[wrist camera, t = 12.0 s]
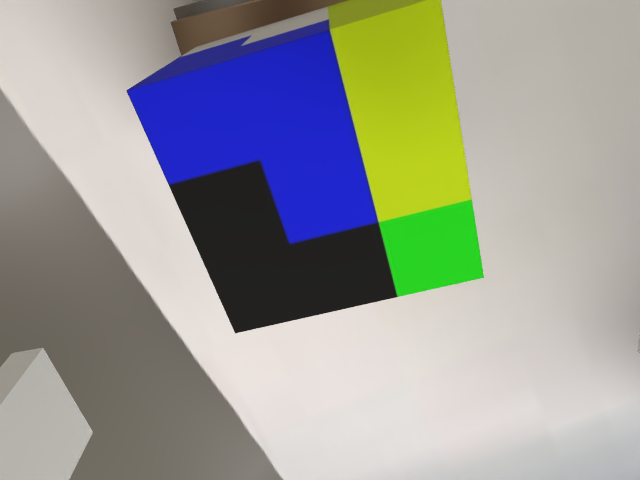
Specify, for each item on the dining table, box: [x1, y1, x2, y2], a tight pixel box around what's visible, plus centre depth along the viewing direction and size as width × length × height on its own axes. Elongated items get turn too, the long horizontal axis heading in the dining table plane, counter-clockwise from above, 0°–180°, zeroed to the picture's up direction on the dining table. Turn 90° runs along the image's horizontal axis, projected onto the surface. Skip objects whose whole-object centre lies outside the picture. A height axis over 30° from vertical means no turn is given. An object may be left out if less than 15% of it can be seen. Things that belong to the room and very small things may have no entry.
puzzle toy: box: [127, 0, 484, 333], centre depth 22 cm, size 10×10×10 cm
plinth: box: [171, 0, 347, 55], centre depth 30 cm, size 13×13×7 cm
